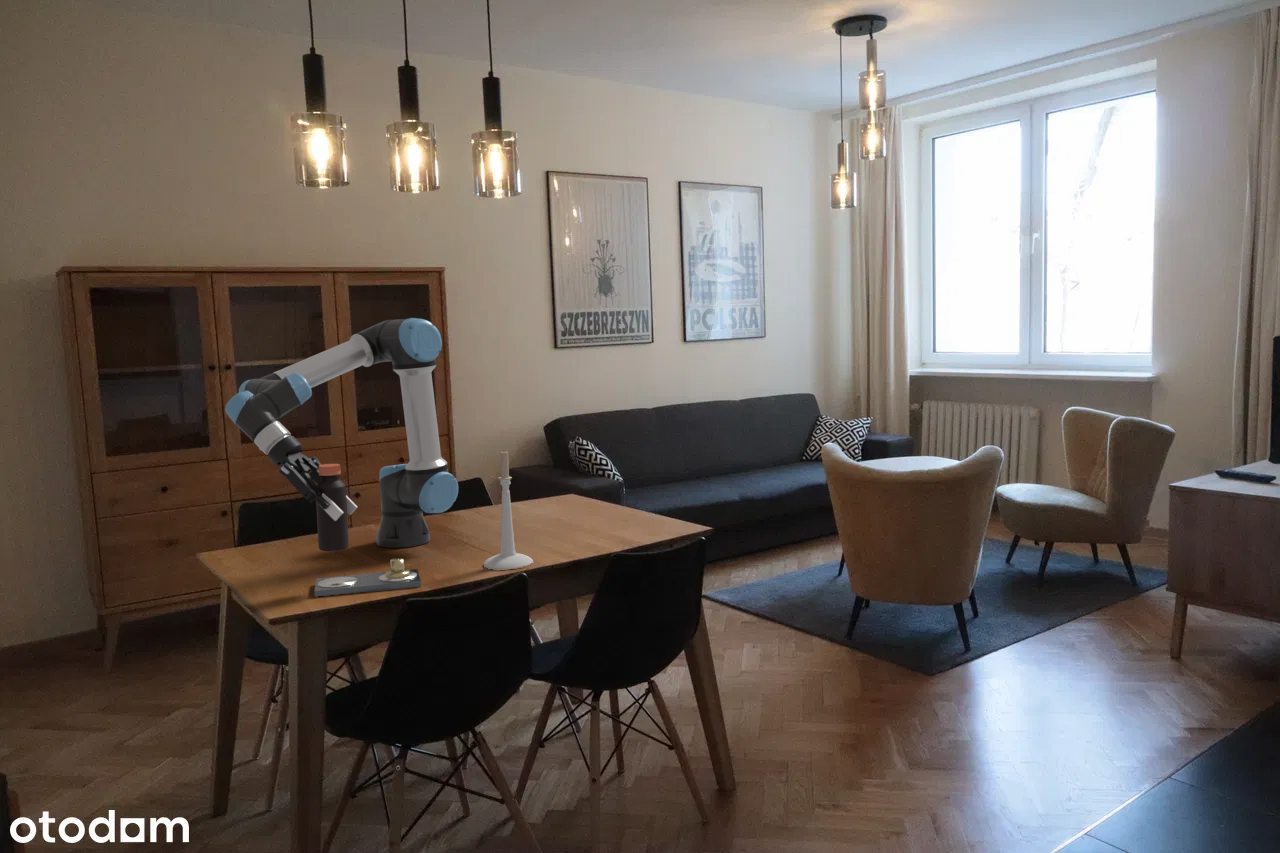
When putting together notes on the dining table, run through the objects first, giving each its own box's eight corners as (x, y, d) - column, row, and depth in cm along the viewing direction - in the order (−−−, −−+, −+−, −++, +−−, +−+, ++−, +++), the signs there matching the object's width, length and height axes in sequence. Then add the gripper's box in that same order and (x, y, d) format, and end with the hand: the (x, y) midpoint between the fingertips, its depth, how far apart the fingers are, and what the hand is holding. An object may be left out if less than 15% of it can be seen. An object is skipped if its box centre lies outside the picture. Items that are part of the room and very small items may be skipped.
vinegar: (323, 545, 224) (319, 463, 222) (352, 544, 224) (347, 462, 222) (315, 552, 217) (310, 467, 215) (344, 551, 218) (339, 466, 216)
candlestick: (529, 570, 235) (525, 452, 232) (479, 571, 236) (474, 453, 233) (536, 558, 248) (532, 446, 245) (488, 558, 248) (483, 447, 246)
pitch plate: (417, 574, 233) (416, 552, 233) (420, 586, 222) (419, 563, 221) (316, 584, 226) (315, 561, 226) (314, 597, 215) (313, 573, 214)
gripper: (292, 451, 231) (356, 516, 230) (246, 461, 212) (315, 533, 211) (310, 430, 230) (375, 495, 228) (265, 438, 211) (336, 510, 209)
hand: (346, 513), depth 219 cm, fingers closed on vinegar, 6 cm apart
